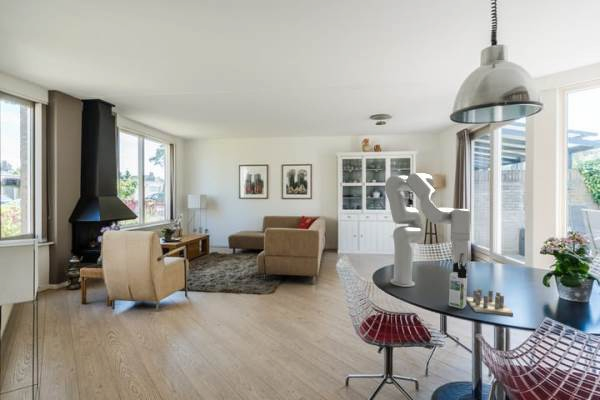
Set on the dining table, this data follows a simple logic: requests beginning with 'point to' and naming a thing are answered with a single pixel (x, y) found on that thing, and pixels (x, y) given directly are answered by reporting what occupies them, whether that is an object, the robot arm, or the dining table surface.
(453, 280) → the syrup box
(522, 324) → the dining table surface
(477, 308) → the pin tray
